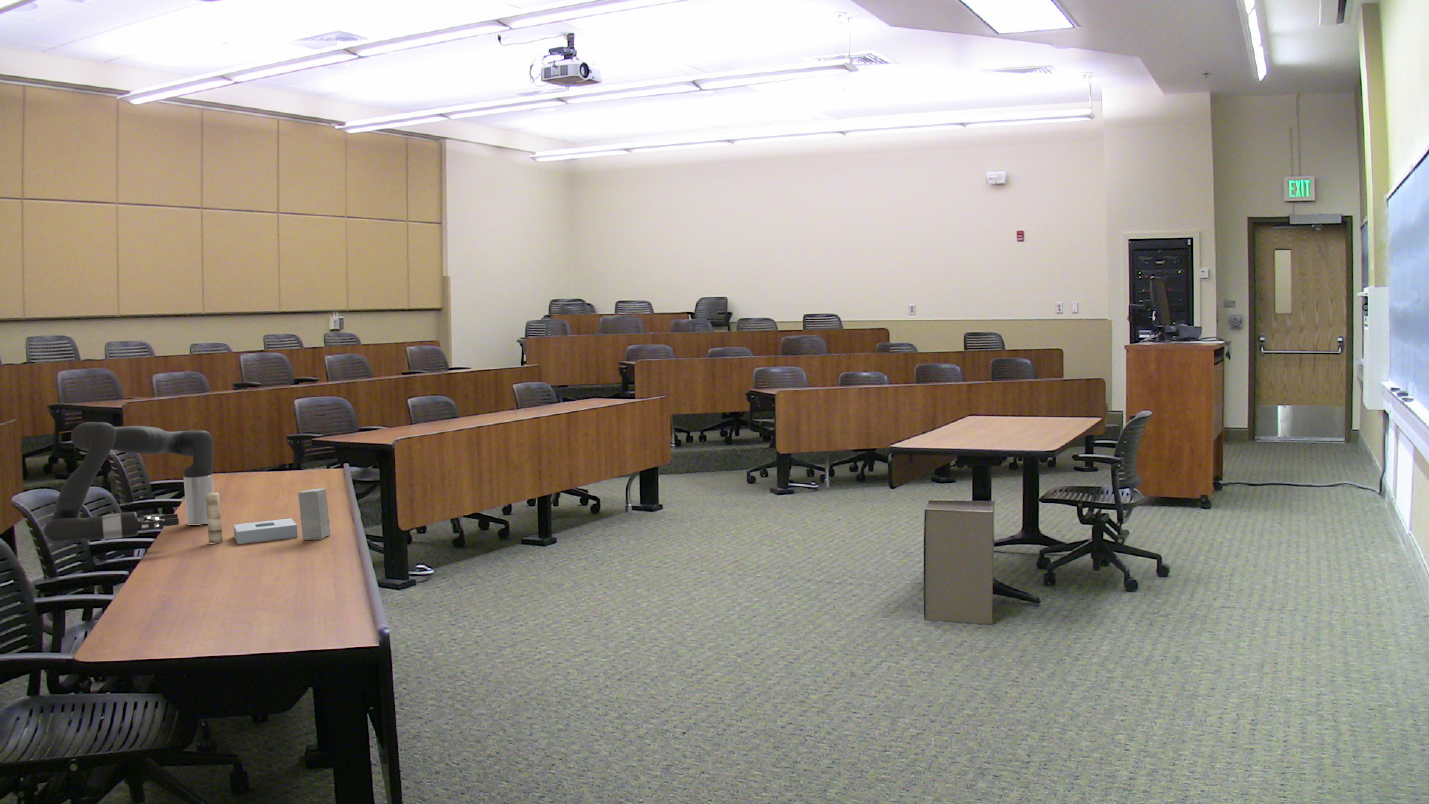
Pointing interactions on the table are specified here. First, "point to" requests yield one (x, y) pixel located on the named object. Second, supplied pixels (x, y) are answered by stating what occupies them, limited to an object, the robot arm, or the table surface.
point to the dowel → (213, 517)
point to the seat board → (265, 531)
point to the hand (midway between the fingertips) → (178, 519)
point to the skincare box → (314, 514)
